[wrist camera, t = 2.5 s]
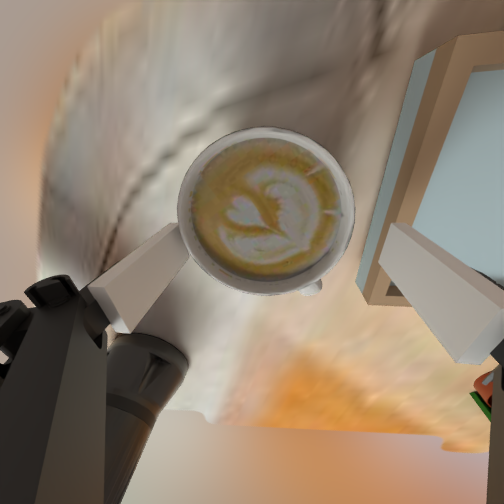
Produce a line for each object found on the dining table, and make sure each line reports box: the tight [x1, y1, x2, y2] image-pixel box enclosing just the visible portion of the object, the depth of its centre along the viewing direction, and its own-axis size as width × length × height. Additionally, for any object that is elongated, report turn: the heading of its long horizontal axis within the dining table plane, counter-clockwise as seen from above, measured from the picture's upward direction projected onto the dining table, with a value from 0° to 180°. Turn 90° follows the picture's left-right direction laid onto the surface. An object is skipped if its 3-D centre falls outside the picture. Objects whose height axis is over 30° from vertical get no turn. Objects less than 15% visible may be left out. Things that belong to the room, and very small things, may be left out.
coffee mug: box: [177, 126, 355, 296], centre depth 16 cm, size 13×10×10 cm
